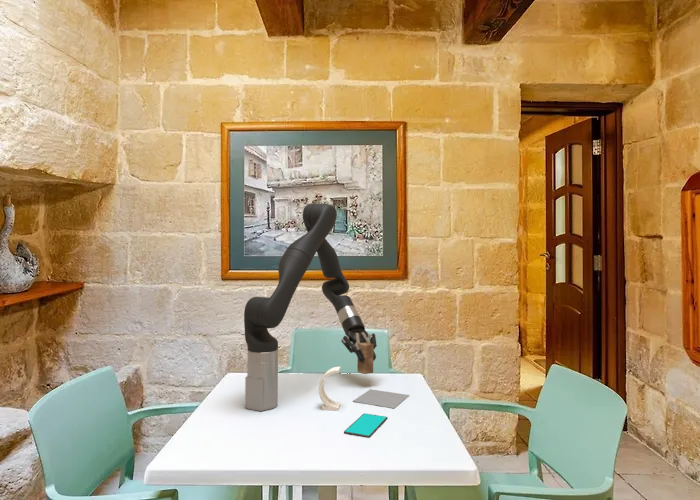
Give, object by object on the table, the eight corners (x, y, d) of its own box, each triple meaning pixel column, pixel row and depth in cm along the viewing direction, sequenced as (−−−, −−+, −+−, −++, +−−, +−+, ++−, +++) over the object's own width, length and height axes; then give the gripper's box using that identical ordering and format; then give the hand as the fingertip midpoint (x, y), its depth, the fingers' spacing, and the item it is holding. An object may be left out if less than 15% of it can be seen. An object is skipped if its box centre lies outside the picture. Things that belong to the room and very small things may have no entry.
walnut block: (363, 374, 159) (364, 345, 160) (357, 371, 163) (357, 343, 163) (373, 372, 162) (373, 344, 162) (366, 370, 165) (367, 342, 165)
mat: (394, 408, 140) (394, 408, 140) (352, 401, 146) (352, 401, 146) (409, 395, 152) (409, 395, 152) (370, 389, 158) (370, 389, 158)
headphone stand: (338, 410, 138) (338, 370, 138) (318, 409, 138) (318, 369, 138) (340, 405, 142) (340, 366, 142) (320, 404, 143) (321, 365, 143)
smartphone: (343, 431, 121) (364, 413, 135) (343, 435, 121) (363, 416, 135) (369, 436, 118) (388, 416, 132) (369, 439, 118) (388, 419, 132)
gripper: (338, 315, 165) (355, 356, 155) (370, 313, 173) (389, 352, 162) (330, 328, 169) (347, 368, 159) (362, 325, 177) (380, 364, 167)
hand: (368, 360), depth 161 cm, fingers closed on walnut block, 4 cm apart
